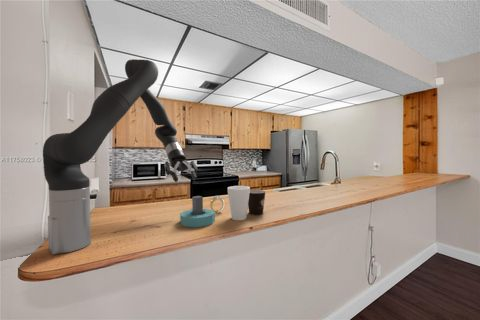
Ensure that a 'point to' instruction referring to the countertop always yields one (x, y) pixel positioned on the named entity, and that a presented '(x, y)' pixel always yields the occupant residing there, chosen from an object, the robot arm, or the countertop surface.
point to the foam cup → (238, 201)
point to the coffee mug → (256, 202)
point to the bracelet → (215, 200)
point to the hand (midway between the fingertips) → (186, 180)
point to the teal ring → (197, 218)
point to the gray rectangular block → (197, 205)
